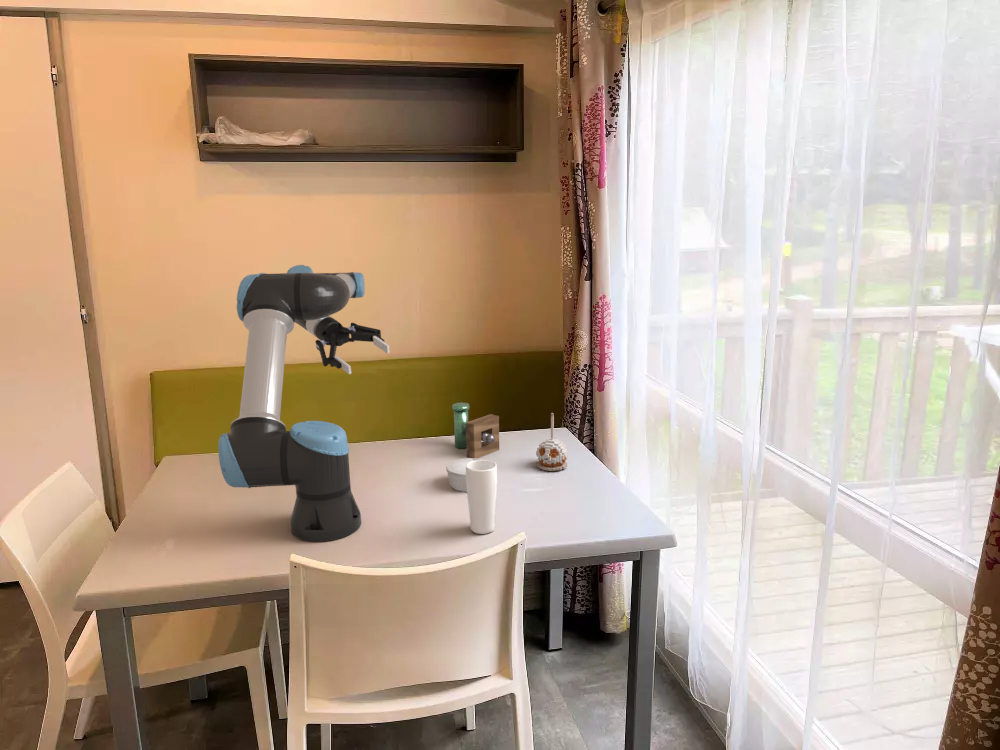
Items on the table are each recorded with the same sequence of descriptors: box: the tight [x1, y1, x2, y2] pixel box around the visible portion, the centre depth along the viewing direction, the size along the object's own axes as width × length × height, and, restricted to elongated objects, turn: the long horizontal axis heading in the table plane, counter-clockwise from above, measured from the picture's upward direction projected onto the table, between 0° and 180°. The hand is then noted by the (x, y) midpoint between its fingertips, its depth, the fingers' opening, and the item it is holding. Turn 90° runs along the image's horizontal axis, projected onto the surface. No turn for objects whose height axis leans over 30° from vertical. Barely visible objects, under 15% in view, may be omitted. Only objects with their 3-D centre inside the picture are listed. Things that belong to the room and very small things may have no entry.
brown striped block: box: [466, 413, 500, 459], centre depth 204 cm, size 3×10×10 cm, turn 137°
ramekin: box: [445, 457, 482, 493], centre depth 183 cm, size 11×11×5 cm
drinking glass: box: [466, 459, 498, 535], centre depth 158 cm, size 7×7×15 cm
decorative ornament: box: [535, 412, 568, 472], centre depth 193 cm, size 8×8×15 cm
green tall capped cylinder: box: [452, 402, 495, 449], centre depth 206 cm, size 15×5×12 cm, turn 47°
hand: (369, 359), depth 206 cm, fingers open, 13 cm apart
